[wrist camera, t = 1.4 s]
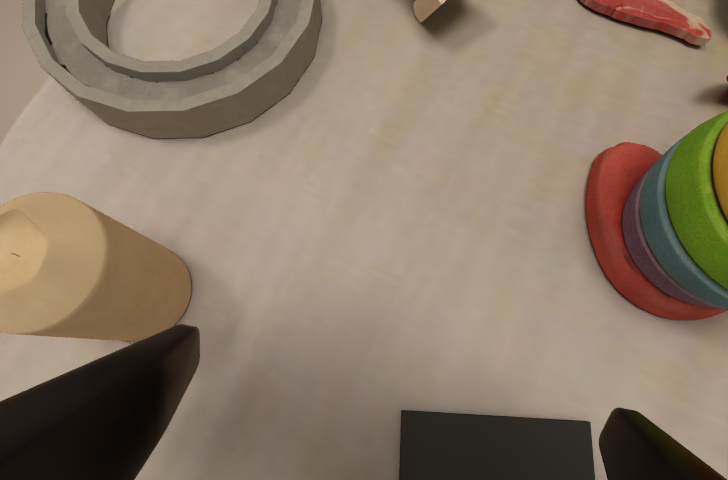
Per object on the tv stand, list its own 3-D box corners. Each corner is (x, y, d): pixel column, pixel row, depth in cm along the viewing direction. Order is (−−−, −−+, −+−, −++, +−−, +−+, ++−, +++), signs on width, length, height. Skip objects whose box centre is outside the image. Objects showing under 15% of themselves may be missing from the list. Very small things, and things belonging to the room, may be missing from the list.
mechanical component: (57, 162, 26) (19, 138, 23) (55, -60, 31) (24, -102, 28) (342, 112, 27) (340, 84, 24) (297, -93, 32) (291, -138, 29)
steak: (569, -10, 29) (583, -36, 30) (565, -2, 30) (579, -28, 30) (707, 47, 28) (718, 18, 28) (700, 54, 28) (711, 25, 29)
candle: (121, 235, 25) (-31, 159, 15) (207, 260, 24) (107, 198, 15) (79, 325, 23) (-118, 304, 14) (170, 353, 23) (33, 352, 13)
